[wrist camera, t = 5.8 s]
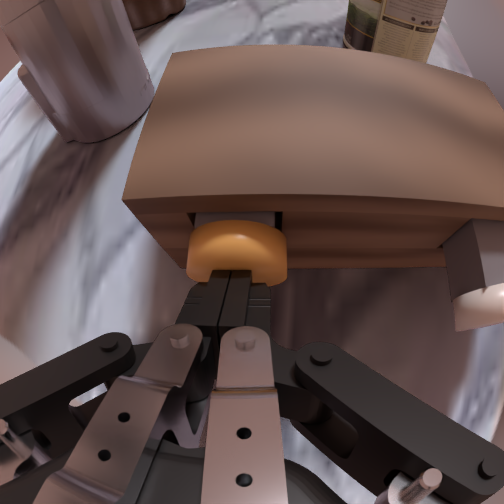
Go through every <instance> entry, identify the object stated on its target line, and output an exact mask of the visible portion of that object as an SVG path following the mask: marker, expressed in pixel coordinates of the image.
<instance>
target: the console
mask: <svg viewBox="0 0 504 504" xmlns="http://www.w3.org/2000/svg"><path fill="white" fill-rule="evenodd" d="M122 201H123V202H124V203H125V205H126V206H127V207H128V208H129V209H130V211H131V212H132V213H133V214H134V215H135V217H136V218H137V219H138V220H139V221H140V222H141V224H142V225H143V226H144V227H145V228H146V229H147V231H148V232H149V233H150V234H151V235H152V236H153V238H154V239H155V240H156V241H157V242H158V243H159V244H160V246H161V247H162V248H163V249H164V250H165V251H166V252H167V253H168V255H169V256H170V257H171V258H172V259H173V260H174V261H175V262H176V263H177V265H178V266H179V267H180V268H187V259H188V249H189V240H190V234H191V232H192V231H193V230H194V229H195V227H194V225H195V216H196V212H251V211H275V228H276V229H278V230H279V231H281V232H282V233H283V234H284V235H285V237H286V239H287V269H315V268H403V267H446V261H445V256H444V250H443V245H442V243H443V242H444V241H445V240H447V239H448V238H449V237H450V236H451V235H453V234H454V233H455V232H456V231H457V230H458V229H459V228H461V227H462V226H463V225H464V224H465V223H466V222H467V221H469V220H470V219H471V218H475V219H488V220H499V221H504V110H503V109H502V107H501V106H500V104H499V103H498V101H497V100H496V98H495V96H494V95H493V93H492V92H491V90H490V89H489V88H488V86H487V85H486V83H485V82H482V81H480V80H477V79H474V78H471V77H469V76H466V75H463V74H460V73H457V72H454V71H450V70H447V69H444V68H440V67H437V66H433V65H430V64H426V63H422V62H418V61H414V60H409V59H405V58H400V57H395V56H390V55H385V54H379V53H373V52H367V51H360V50H353V49H344V48H335V47H323V46H307V45H243V46H228V47H216V48H206V49H198V50H190V51H183V52H176V53H172V55H171V57H170V59H169V62H168V64H167V66H166V69H165V71H164V73H163V76H162V78H161V80H160V83H159V85H158V88H157V90H156V93H155V95H154V98H153V101H152V103H151V106H150V109H149V111H148V114H147V117H146V120H145V123H144V126H143V128H142V131H141V134H140V137H139V141H138V144H137V147H136V150H135V153H134V156H133V160H132V163H131V167H130V170H129V174H128V177H127V181H126V185H125V188H124V192H123V196H122Z"/></svg>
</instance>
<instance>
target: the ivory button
mask: <svg viewBox="0 0 504 504" xmlns="http://www.w3.org/2000/svg"><path fill="white" fill-rule="evenodd" d="M442 245H443V250H444V256H445V261H446V267H447V273H448V280H449V287H450V295H451V302H453V306H454V317H455V329H456V331H466V330H472V329H477V328H482V327H487V326H491V325H495V324H499V323H503V322H504V221H499V220H488V219H475V218H471V219H470V220H469V221H467V222H466V223H465V224H464V225H463V226H462V227H461V228H459V229H458V230H457V231H456V232H455V233H454V234H453V235H451V236H450V237H449V238H448V239H447V240H445V241H444V242H443V243H442Z"/></svg>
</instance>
